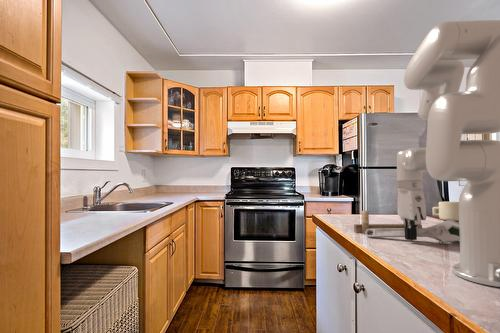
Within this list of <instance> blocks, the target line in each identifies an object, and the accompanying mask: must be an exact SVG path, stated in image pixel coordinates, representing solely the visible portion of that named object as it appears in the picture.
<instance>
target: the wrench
mask: <svg viewBox="0 0 500 333" xmlns="http://www.w3.org/2000/svg"><path fill="white" fill-rule="evenodd" d="M452 227H453V228H456V229H459V223H458V222H455V221H452V220H447V221H444V220H443V221H441V222H439V223H438V224H435V225H434V224H433V225H431V226H428V227H422V228H417V238H431V239H434V240H436V241H438V243H439V244H442V245H446V243H455V242H458V241H460V237H459V236H457V235H452V234H450V233H449V231H448V230H449V229H450V228H452ZM368 231H372V232H373V233H372V234H371V235H370V234H367V232H368ZM365 236H366V237H367V238H372V239H377V238H381V239H382V238H405V228H384V229H367V230H366V235H365Z"/></svg>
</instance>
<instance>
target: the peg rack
mask: <svg viewBox="0 0 500 333" xmlns="http://www.w3.org/2000/svg"><path fill="white" fill-rule="evenodd" d="M369 213H370V212H369V210H361V223H354V225H353V231H354V232H355V233H356V234H363V235H365V236H366V230H367V229H384V228H405V227H404V223H388V224H387V223H378V224H377V223H370V221H369V220H370V217H369V216H370V215H369ZM418 228H423V226H422V224H421V225H418ZM367 234H368V235H370V234H373V232H372V231H368V232H367Z"/></svg>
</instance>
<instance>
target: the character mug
mask: <svg viewBox="0 0 500 333" xmlns="http://www.w3.org/2000/svg"><path fill="white" fill-rule="evenodd" d="M431 209H432V216H434V217H439V219H440V220H441V221H443V222H444V221H447V220H452V221H455V222H458V223H459V201H439V202H438V206H433V207H432V208H431ZM437 210H438V213H437ZM448 231H449V233H450V234H452V235H457V236H459V237H460V234H459V229H456V228H453V227H452V228H450V229H449V230H448Z"/></svg>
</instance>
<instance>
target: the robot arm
mask: <svg viewBox="0 0 500 333" xmlns="http://www.w3.org/2000/svg"><path fill="white" fill-rule="evenodd" d="M462 60H475V61H474V62H473V63H472V65H471V66H470V68H469V70H468V72H467V73H466V78H465V80H466V81H465V90H464V91H460V87H461V84H462V81H463V79H464V78H463V77H464V75H465V68H466V67H465V64H464V63H463V62H462ZM403 83H404V87H406V88H407V89H408V90H413V91H417V90H418V91H419V90H421V91H422V93H421V94H422V95H421V98H420V103H419V105H418V106H419V107H418V110H417V115H418V117H419V118H420V119H422V120H423V121H427V128H426V142H425V143H426V144H425V145H426V147H410V148H408V149H404V150H399V151H398V152H397V154H396V180H397V182H396V184H397V185H396V186H397V188H396V190H397V201H396V202H397V204H396V207H397V208H396V210H397V215H398V216H399V217H400V220H401V221H402V222H403V223H402V224H404V227H405V237H404V239H405V240H408V241H417V239H418V237H417V228H418V225H422V221H426V220H427V206H426V199H425V194H424V190H423V189H424V188H423V172H428V174H429V176H430V177H431V178H432V179H435V180H436V181H440V182H466V184H465V185H464V187H463V189H462V190H461V192H460V194H459V197H458V198H459V199H458V202H459V234H460V240H459V263H456V264H453V265H452V273H454V275H456V276H458V277H460V278H461V279H465V280H466V281H469V282H473V283H476V284H480V285H483V286H484V285H485V286H490V287H498V288H500V141H499V140H495V139H468V140H467V139H466V140H464V139H463V140H462V135H486V134H495V133H496V134H498V133H500V19H499V20H498V19H494V20H493V19H489V20H488V19H486V20H485V19H483V20H482V19H481V20H458V21H457V20H453V21H443V22H440V23H438V24H436V25H435V26H433V27H432V28H431V29H430V30H429V32H428V33H427V34H426V35H425V37H424V39H423V40H422V42H421V43H420V44H419V46H418V48H417V49H416V51H415V52H414V54H413V56H412V57H411V59H410V61H409V62H408V64H407V67H406V69H405V72H404V77H403Z"/></svg>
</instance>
